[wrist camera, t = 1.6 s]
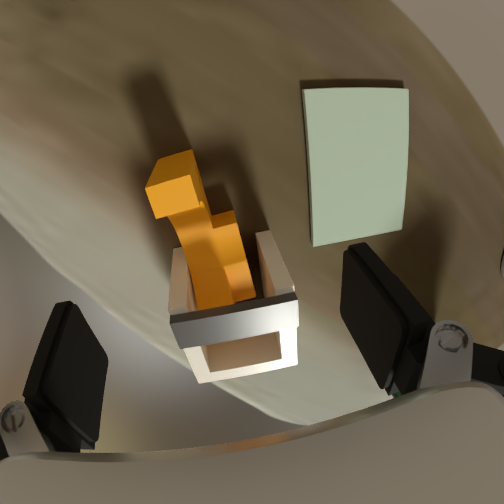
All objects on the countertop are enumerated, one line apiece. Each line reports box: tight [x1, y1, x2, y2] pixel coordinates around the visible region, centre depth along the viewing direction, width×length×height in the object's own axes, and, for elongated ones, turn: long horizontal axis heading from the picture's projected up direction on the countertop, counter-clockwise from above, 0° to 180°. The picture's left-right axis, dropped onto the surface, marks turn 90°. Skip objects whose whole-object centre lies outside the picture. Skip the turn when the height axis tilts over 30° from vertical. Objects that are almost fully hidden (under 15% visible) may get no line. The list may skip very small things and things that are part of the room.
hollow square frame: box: [168, 230, 299, 383], centre depth 24 cm, size 8×8×8 cm
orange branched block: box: [145, 149, 256, 311], centre depth 22 cm, size 12×4×6 cm, turn 12°
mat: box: [302, 87, 409, 247], centre depth 24 cm, size 9×13×1 cm
